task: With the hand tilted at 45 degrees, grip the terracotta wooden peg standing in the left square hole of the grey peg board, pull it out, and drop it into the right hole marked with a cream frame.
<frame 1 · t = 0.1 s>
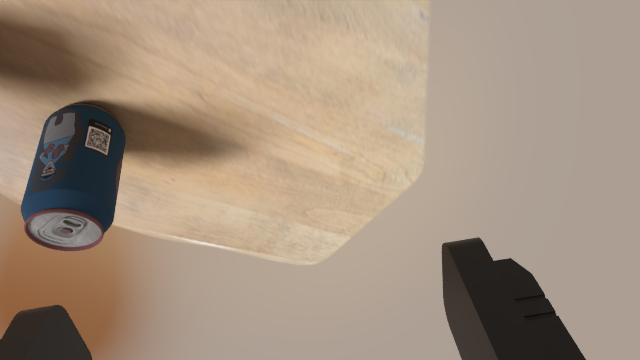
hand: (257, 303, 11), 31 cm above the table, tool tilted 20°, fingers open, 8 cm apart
soda can: (88, 123, 48), on the table
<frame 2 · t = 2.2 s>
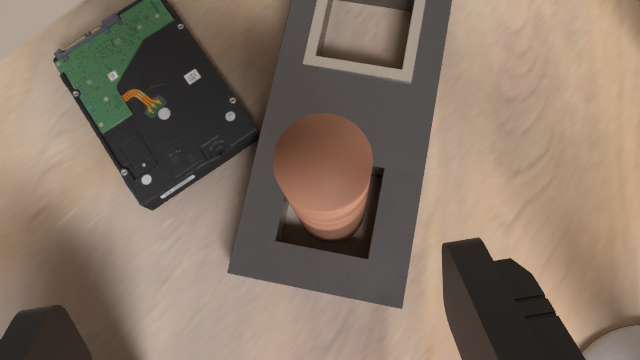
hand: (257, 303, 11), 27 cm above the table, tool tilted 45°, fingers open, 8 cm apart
disk drive: (162, 104, 42), on the table
terracotta peg: (331, 210, 38), resting in grey peg board
grey peg board: (349, 122, 40), on the table
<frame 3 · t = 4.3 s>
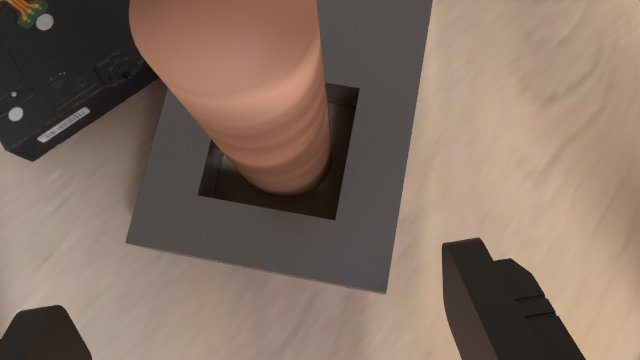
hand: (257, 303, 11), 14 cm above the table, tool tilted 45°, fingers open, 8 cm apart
disk drive: (54, 19, 30), on the table
terracotta peg: (286, 155, 27), resting in grey peg board
grey peg board: (312, 34, 28), on the table
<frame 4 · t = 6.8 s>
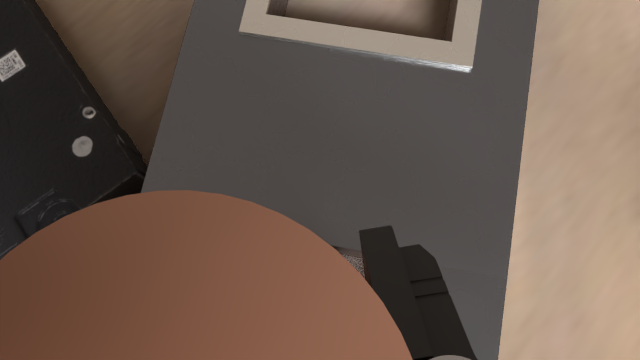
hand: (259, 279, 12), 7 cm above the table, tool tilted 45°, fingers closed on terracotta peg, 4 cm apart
terracotta peg: (301, 341, 18), resting in grey peg board, touching gripper
grey peg board: (338, 152, 20), on the table
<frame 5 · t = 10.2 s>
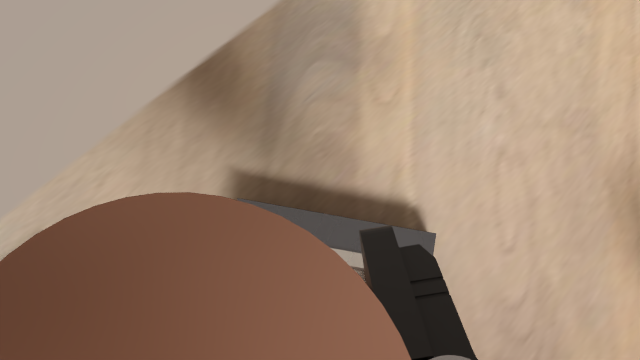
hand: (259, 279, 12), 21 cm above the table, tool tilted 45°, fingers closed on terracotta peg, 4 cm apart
terracotta peg: (301, 341, 18), point 14 cm above the table, touching gripper
when the fingers open (9 cm above the table, at t = 13.7 s): terracotta peg drops 1 cm, resting in grey peg board.
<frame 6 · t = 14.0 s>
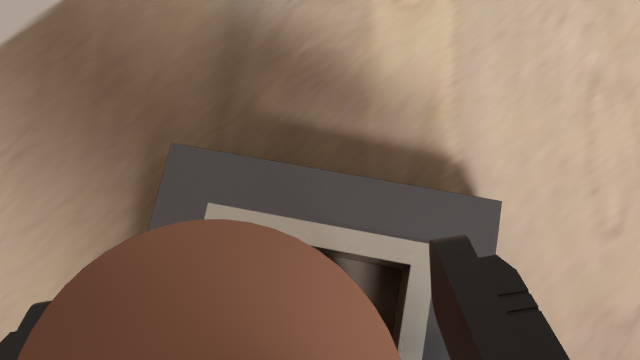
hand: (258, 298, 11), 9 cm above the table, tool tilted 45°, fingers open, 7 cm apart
terracotta peg: (303, 341, 19), resting in grey peg board
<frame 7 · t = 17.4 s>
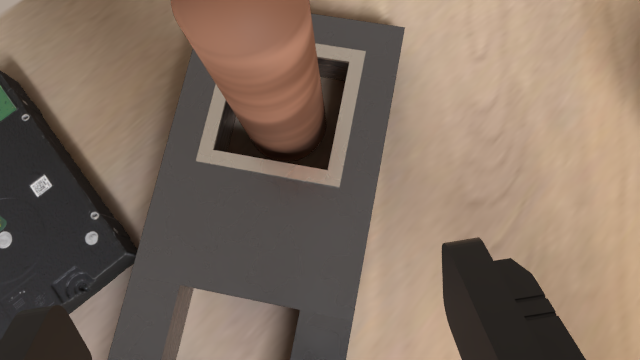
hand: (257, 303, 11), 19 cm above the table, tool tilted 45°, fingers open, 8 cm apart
disk drive: (15, 217, 32), on the table
terracotta peg: (287, 123, 32), resting in grey peg board
grey peg board: (262, 233, 30), on the table
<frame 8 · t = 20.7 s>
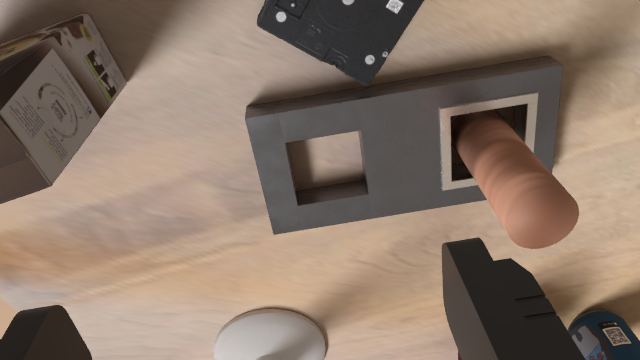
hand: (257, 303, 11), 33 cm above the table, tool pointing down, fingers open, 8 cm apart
terracotta peg: (476, 130, 47), resting in grey peg board
candlestick: (270, 347, 60), on the table
grey peg board: (401, 143, 47), on the table
coffee box: (58, 65, 41), on the table
soda can: (589, 325, 62), on the table
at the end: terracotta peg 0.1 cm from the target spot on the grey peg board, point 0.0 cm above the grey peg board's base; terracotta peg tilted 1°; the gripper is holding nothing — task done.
